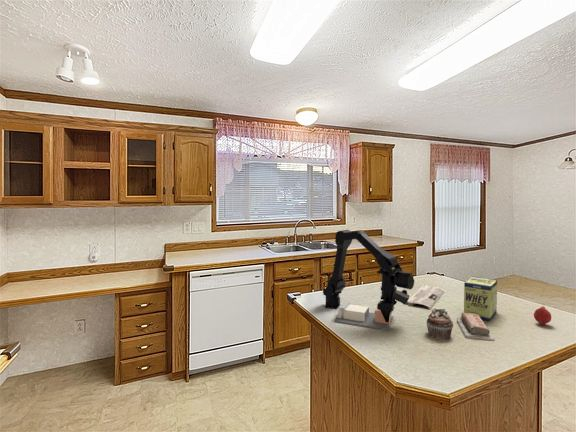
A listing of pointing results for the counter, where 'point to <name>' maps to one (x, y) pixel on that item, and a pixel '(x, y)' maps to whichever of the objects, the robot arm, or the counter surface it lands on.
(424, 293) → the newspaper
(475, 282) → the protein box
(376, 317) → the stub
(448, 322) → the cupcake
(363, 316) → the grey flat tray
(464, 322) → the packaged product
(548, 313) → the onion
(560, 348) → the counter surface
